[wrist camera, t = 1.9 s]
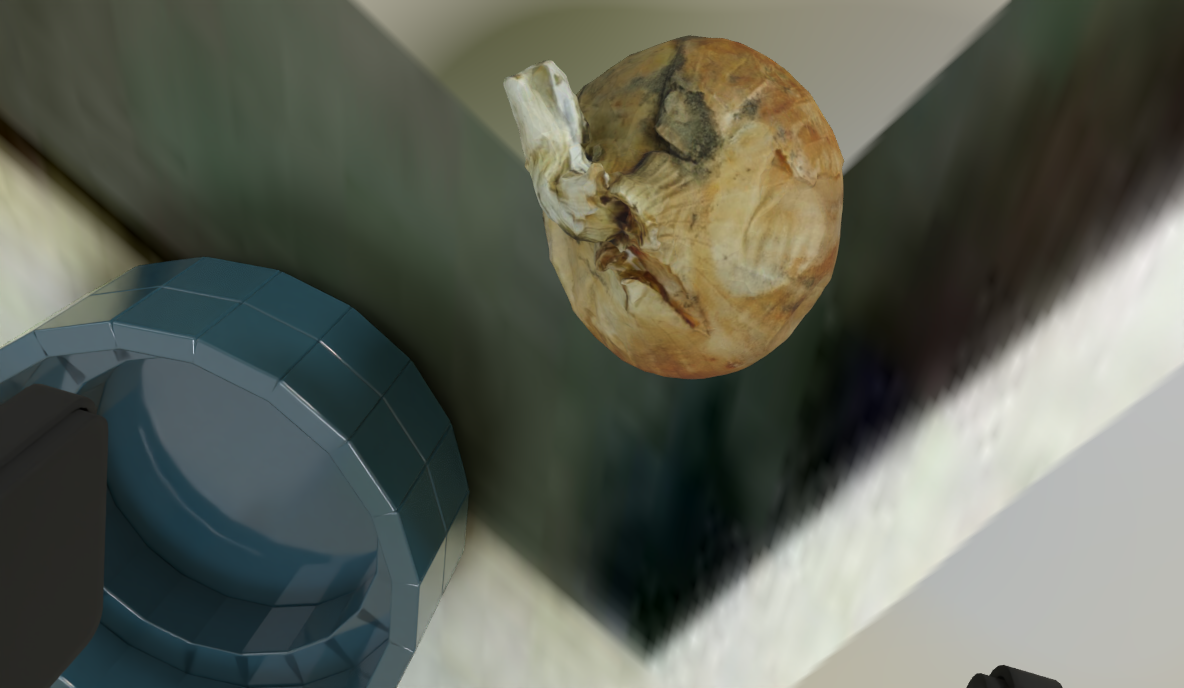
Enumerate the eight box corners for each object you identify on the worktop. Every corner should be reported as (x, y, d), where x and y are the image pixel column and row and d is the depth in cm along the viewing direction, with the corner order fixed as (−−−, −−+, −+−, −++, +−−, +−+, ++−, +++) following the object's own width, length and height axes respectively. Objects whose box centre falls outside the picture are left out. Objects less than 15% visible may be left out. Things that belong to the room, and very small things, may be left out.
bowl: (567, 484, 33) (525, 594, 28) (302, 708, 39) (230, 830, 34) (198, 152, 31) (83, 208, 26) (-24, 445, 37) (-152, 536, 32)
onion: (539, 287, 31) (459, 420, 23) (568, -3, 27) (484, 50, 20) (804, 333, 30) (806, 486, 23) (869, 40, 26) (895, 112, 19)
